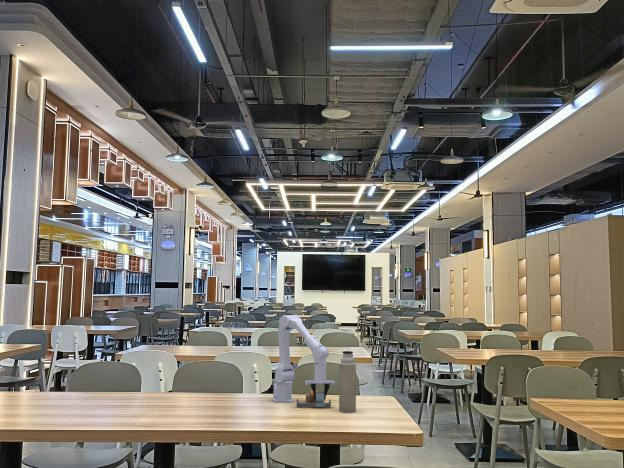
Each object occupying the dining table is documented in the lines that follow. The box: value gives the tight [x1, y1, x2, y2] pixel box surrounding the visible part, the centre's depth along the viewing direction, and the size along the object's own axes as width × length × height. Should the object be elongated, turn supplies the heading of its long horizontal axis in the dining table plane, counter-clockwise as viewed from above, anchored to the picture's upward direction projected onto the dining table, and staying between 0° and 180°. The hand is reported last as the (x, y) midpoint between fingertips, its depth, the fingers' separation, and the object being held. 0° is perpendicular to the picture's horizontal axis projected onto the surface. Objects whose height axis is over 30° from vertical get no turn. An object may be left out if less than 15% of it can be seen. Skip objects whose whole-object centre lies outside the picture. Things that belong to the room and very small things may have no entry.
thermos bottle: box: [338, 350, 357, 414], centre depth 269 cm, size 8×8×28 cm
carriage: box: [316, 391, 325, 407], centre depth 276 cm, size 4×5×6 cm
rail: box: [296, 398, 332, 409], centre depth 276 cm, size 17×3×4 cm, turn 90°
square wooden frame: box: [305, 392, 316, 402], centre depth 287 cm, size 8×8×4 cm
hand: (319, 399), depth 276 cm, fingers closed on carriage, 4 cm apart
